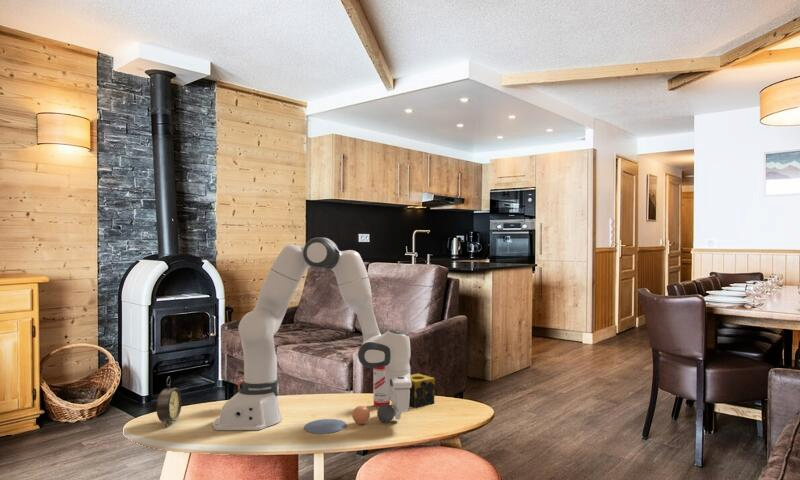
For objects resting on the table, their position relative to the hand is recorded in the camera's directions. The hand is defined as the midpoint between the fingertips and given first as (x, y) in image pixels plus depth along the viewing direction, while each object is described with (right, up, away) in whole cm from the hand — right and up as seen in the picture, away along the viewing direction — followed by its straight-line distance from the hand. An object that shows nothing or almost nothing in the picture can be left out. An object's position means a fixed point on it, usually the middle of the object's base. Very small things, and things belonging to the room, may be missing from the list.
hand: (397, 417), depth 170 cm
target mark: (-24, -1, -5) cm, 25 cm away
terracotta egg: (-12, +2, -3) cm, 13 cm away
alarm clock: (-79, -2, -1) cm, 79 cm away
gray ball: (-4, +2, -1) cm, 4 cm away
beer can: (-6, -2, +18) cm, 19 cm away
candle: (+8, -2, +21) cm, 23 cm away
